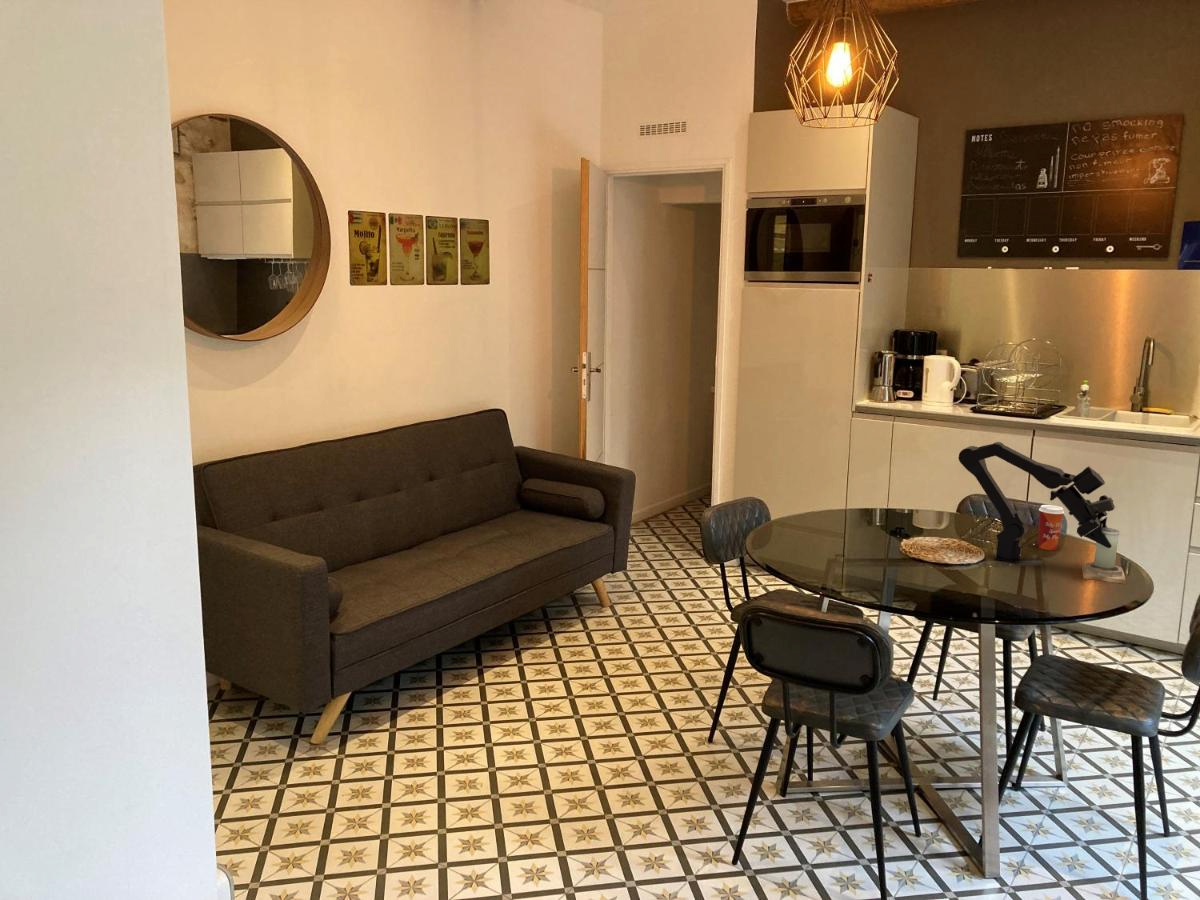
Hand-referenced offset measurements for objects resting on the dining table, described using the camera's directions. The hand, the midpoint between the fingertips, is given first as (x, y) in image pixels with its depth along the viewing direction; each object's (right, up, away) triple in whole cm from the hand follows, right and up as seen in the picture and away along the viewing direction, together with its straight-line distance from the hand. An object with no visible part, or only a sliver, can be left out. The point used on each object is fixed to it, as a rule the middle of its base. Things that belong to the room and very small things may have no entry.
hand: (1111, 545), depth 282 cm
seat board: (-1, -10, +3) cm, 10 cm away
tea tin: (-1, -6, +2) cm, 7 cm away
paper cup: (-4, -4, +31) cm, 32 cm away
